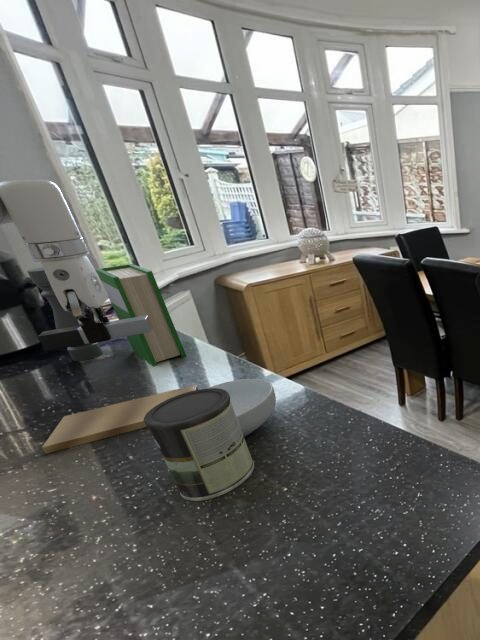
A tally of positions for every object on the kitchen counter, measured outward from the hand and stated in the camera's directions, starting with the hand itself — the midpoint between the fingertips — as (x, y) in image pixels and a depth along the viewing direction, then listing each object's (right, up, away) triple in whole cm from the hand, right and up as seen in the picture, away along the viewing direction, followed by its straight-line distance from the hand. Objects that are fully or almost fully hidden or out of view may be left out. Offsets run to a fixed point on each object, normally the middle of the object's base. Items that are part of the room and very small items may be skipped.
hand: (102, 337), depth 82 cm
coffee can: (+37, -23, -17) cm, 47 cm away
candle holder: (-34, -5, +29) cm, 45 cm away
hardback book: (-14, -4, +29) cm, 33 cm away
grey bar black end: (0, 0, 0) cm, 0 cm away
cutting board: (+7, -17, 0) cm, 18 cm away
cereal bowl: (+31, -18, -5) cm, 37 cm away
